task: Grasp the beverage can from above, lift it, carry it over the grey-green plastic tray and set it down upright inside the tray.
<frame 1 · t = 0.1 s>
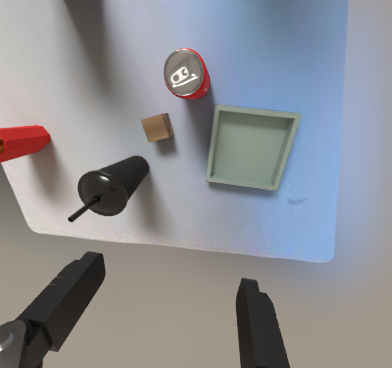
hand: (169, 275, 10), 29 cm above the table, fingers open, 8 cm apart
beverage can: (195, 83, 32), on the table
tray: (246, 147, 35), on the table
french fries: (37, 139, 40), on the table
walnut block: (161, 126, 36), on the table
drinking cup: (138, 165, 40), on the table
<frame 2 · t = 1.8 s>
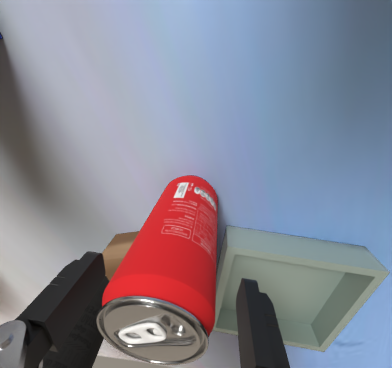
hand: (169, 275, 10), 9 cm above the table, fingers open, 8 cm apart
beverage can: (192, 194, 18), on the table
tray: (274, 280, 22), on the table
walnut block: (137, 244, 22), on the table
drinking cup: (107, 285, 27), on the table
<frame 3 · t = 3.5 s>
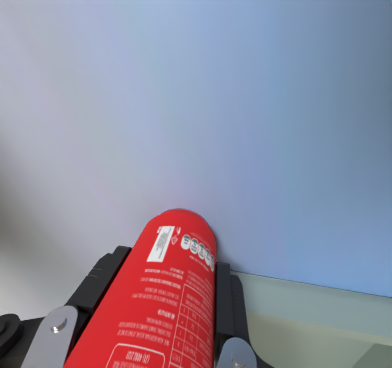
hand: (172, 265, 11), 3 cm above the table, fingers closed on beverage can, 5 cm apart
beverage can: (182, 231, 14), on the table, touching gripper
tray: (289, 334, 17), on the table
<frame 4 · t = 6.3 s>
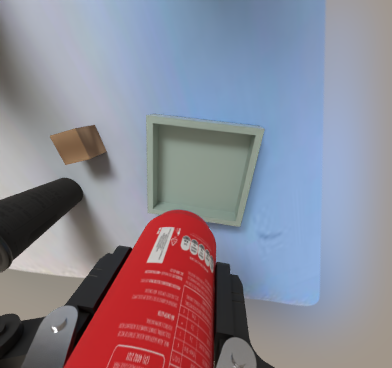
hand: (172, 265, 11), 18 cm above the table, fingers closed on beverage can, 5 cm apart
beverage can: (182, 232, 14), point 14 cm above the table, touching gripper
tray: (200, 169, 27), on the table
walnut block: (89, 141, 27), on the table
drinking cup: (70, 189, 31), on the table
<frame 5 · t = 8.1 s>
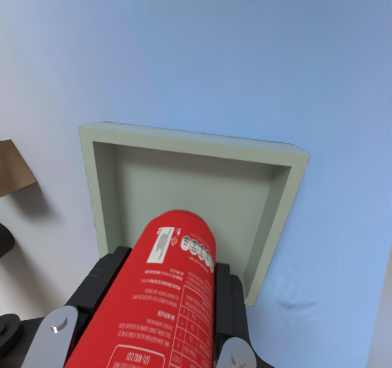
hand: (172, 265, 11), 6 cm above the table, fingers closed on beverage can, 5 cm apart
beverage can: (182, 232, 14), point 3 cm above the table, touching gripper
tray: (188, 211, 16), on the table
walnut block: (9, 165, 17), on the table
when the fingers open (5 cm above the table, at t = 9.3 s): beverage can drops 1 cm, resting on tray.
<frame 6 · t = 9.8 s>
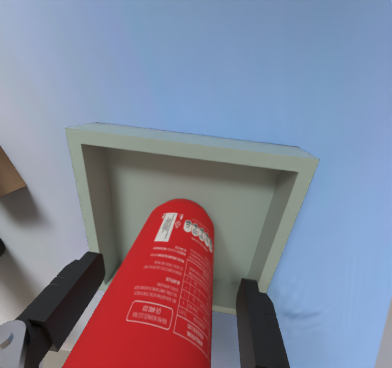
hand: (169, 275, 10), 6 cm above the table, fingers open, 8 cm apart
beverage can: (183, 219, 15), resting on tray
tray: (186, 217, 16), on the table
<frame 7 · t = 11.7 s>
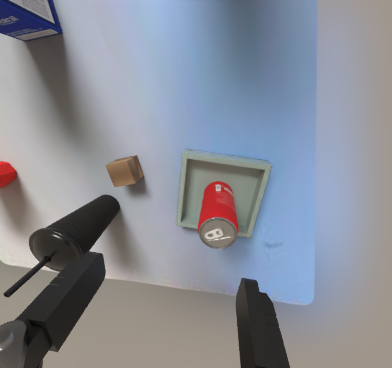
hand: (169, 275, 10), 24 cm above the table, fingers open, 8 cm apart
beverage can: (218, 191, 33), resting on tray
tray: (218, 191, 34), on the table
french fries: (3, 174, 38), on the table
walnut block: (131, 167, 34), on the table
drinking cup: (109, 204, 38), on the table
milk carton: (34, 9, 26), on the table
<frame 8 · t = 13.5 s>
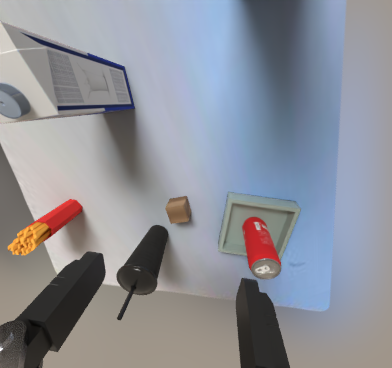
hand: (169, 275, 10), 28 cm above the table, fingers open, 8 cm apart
beverage can: (253, 224, 41), resting on tray
tray: (253, 223, 41), on the table
french fries: (70, 208, 46), on the table
walnut block: (180, 204, 42), on the table
drinking cup: (159, 232, 46), on the table
milk carton: (113, 91, 33), on the table
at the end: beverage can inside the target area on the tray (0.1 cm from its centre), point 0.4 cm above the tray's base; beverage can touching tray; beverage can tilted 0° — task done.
